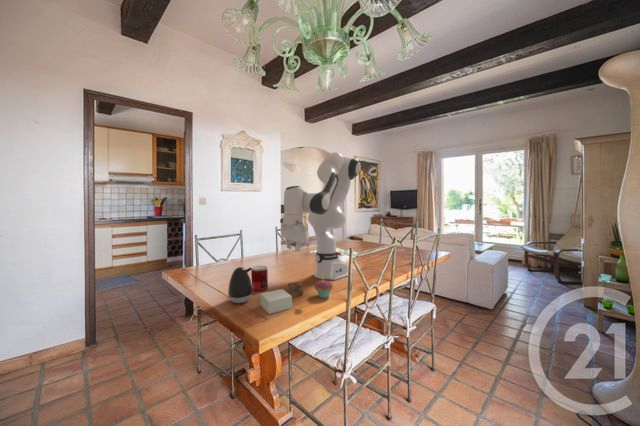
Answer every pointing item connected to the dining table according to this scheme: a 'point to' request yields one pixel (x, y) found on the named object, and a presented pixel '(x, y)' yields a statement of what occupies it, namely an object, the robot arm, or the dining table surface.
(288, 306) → the pedestal
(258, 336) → the dining table surface
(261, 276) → the canned food
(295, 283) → the walnut cube
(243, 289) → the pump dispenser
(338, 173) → the robot arm
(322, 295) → the cupcake
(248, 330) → the dining table surface
